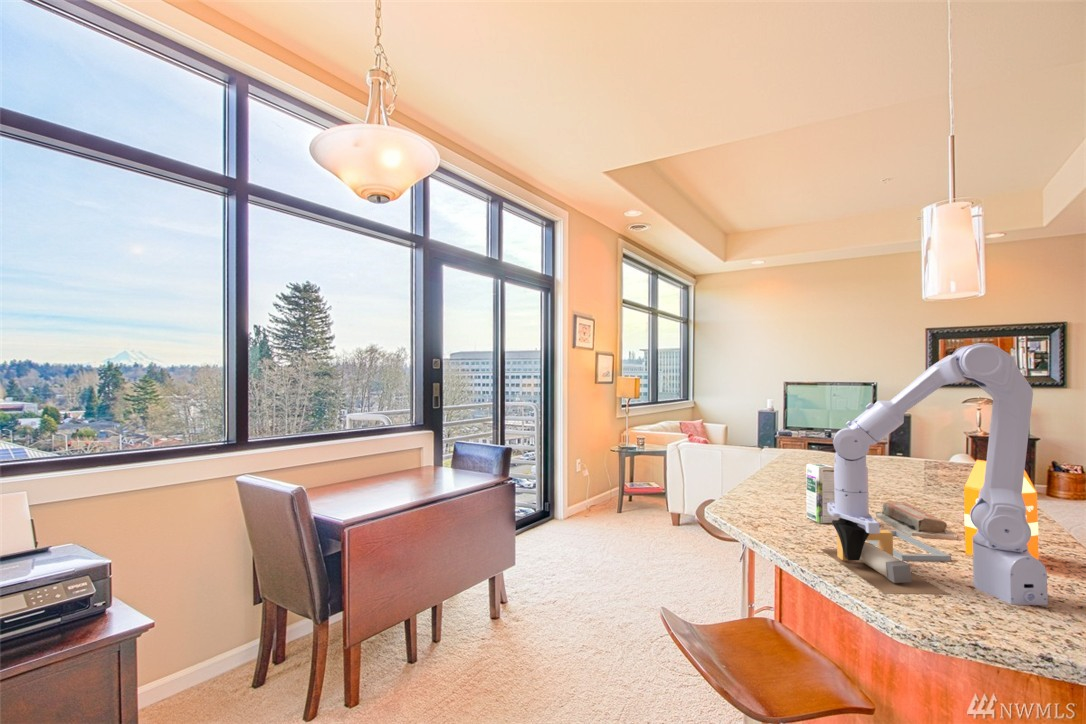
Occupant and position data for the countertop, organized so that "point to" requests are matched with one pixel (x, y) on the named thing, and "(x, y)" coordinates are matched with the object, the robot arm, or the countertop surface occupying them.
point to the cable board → (882, 582)
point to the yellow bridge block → (883, 539)
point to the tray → (935, 555)
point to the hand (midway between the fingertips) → (852, 559)
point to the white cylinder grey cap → (885, 564)
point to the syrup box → (819, 492)
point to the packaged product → (914, 521)
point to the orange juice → (971, 498)
